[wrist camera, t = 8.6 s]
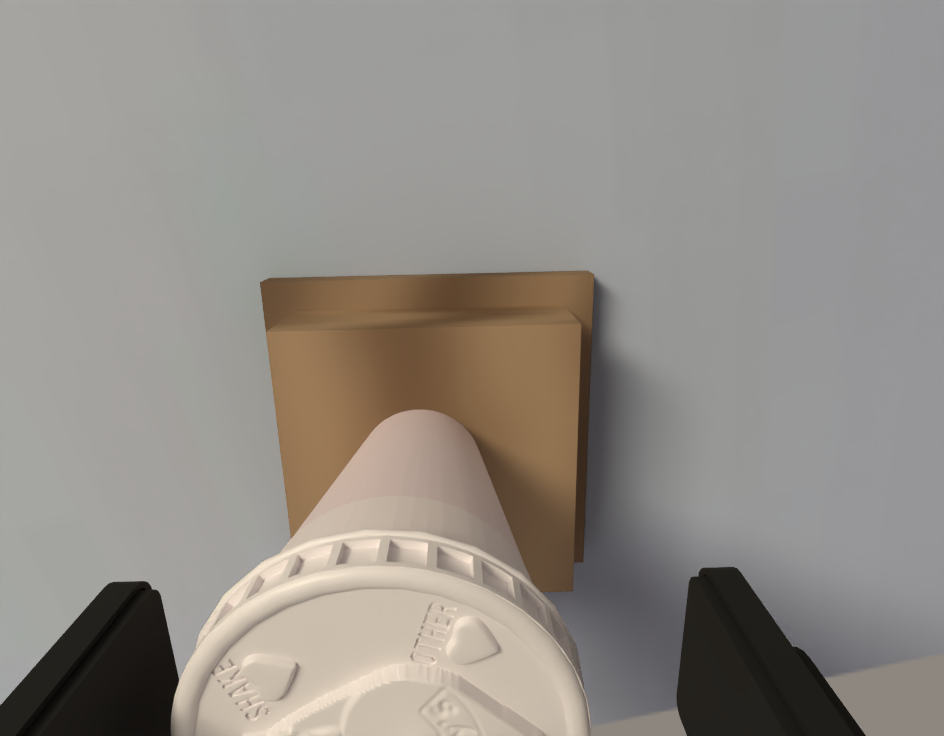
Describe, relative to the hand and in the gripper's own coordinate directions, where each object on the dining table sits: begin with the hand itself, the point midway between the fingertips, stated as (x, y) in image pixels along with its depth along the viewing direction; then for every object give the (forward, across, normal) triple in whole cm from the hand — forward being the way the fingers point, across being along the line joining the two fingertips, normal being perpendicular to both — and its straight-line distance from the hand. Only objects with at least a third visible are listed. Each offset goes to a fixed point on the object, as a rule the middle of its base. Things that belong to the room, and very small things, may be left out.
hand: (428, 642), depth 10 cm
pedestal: (+12, 0, +1) cm, 12 cm away
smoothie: (+8, +1, +1) cm, 8 cm away
